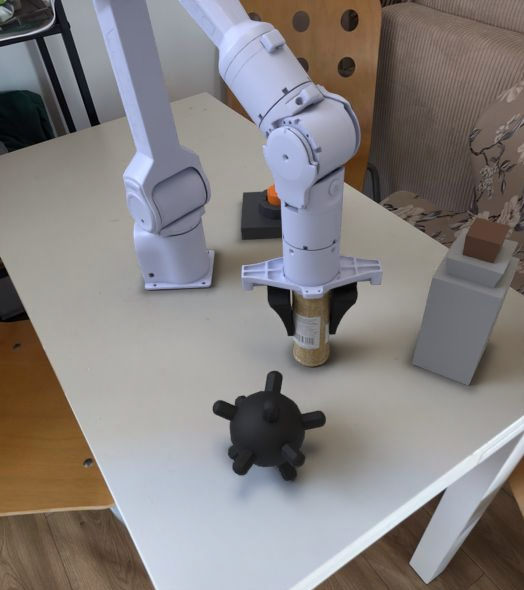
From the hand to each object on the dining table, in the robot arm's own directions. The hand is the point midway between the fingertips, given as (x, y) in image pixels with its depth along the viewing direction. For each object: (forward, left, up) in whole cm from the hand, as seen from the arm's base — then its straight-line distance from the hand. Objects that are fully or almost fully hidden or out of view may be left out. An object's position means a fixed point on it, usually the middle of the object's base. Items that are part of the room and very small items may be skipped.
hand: (310, 329), depth 61 cm
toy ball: (-5, -14, -5) cm, 16 cm away
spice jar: (0, 0, -5) cm, 5 cm away
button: (-3, +29, -1) cm, 29 cm away
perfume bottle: (+17, -1, -5) cm, 17 cm away
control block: (-3, +29, -4) cm, 30 cm away
